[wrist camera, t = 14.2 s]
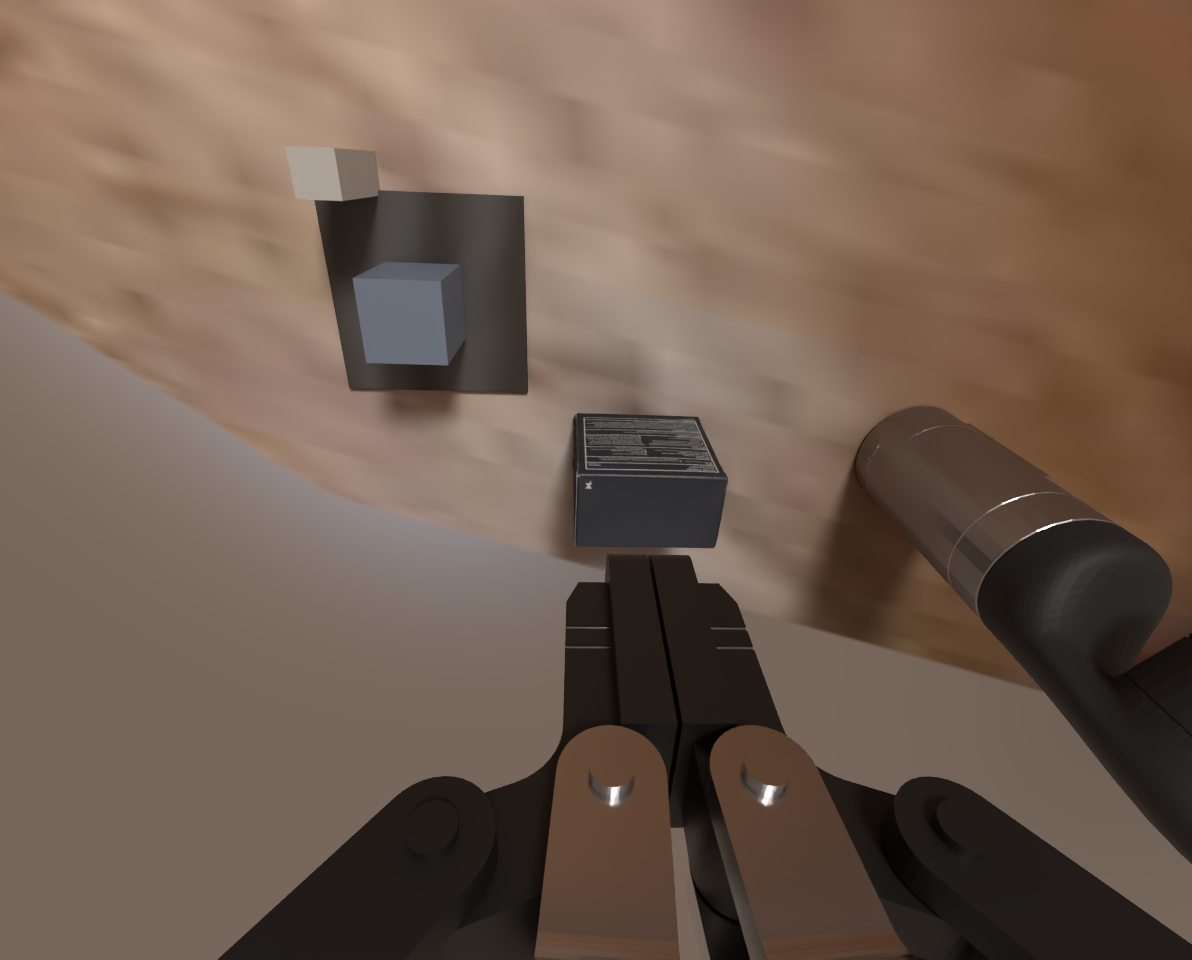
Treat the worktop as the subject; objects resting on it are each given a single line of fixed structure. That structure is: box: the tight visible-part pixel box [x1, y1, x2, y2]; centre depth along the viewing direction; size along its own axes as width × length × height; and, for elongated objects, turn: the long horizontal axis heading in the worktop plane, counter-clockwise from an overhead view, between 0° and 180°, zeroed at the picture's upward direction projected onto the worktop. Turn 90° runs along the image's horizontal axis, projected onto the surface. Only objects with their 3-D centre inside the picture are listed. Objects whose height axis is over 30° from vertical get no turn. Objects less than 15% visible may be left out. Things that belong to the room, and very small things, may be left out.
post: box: [286, 146, 380, 201], centre depth 34 cm, size 3×3×7 cm
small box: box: [573, 413, 728, 548], centre depth 44 cm, size 11×6×10 cm, turn 88°
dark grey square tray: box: [315, 191, 528, 392], centre depth 38 cm, size 14×14×7 cm
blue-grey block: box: [352, 262, 466, 365], centre depth 38 cm, size 5×5×7 cm
